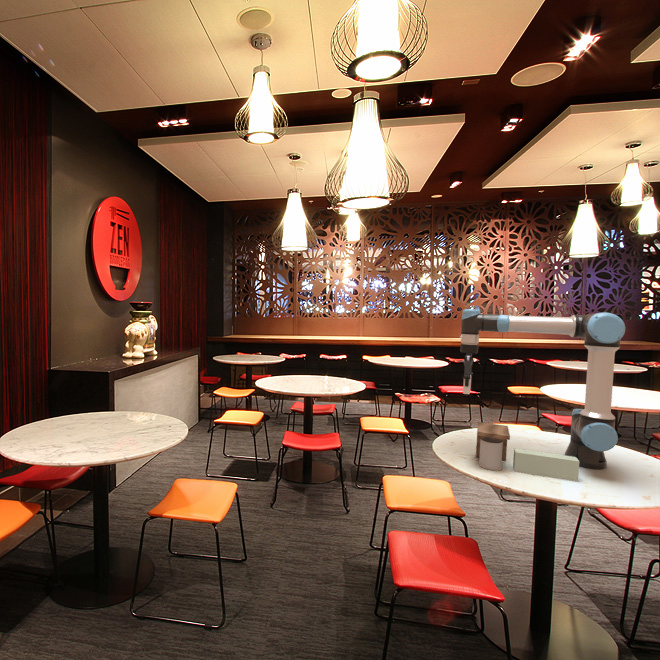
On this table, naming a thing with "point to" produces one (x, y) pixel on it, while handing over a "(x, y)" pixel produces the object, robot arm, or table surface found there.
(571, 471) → the pale green block
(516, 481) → the table surface
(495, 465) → the mug
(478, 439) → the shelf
